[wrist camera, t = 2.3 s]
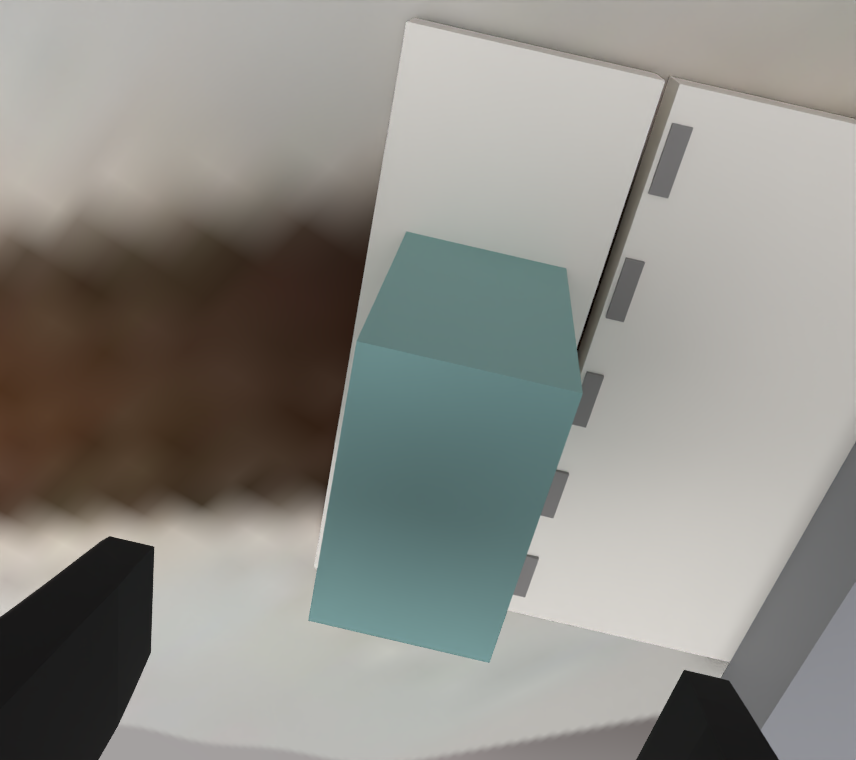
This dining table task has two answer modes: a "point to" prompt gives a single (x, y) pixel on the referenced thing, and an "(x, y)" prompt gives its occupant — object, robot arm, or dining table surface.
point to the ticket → (722, 417)
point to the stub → (471, 328)
